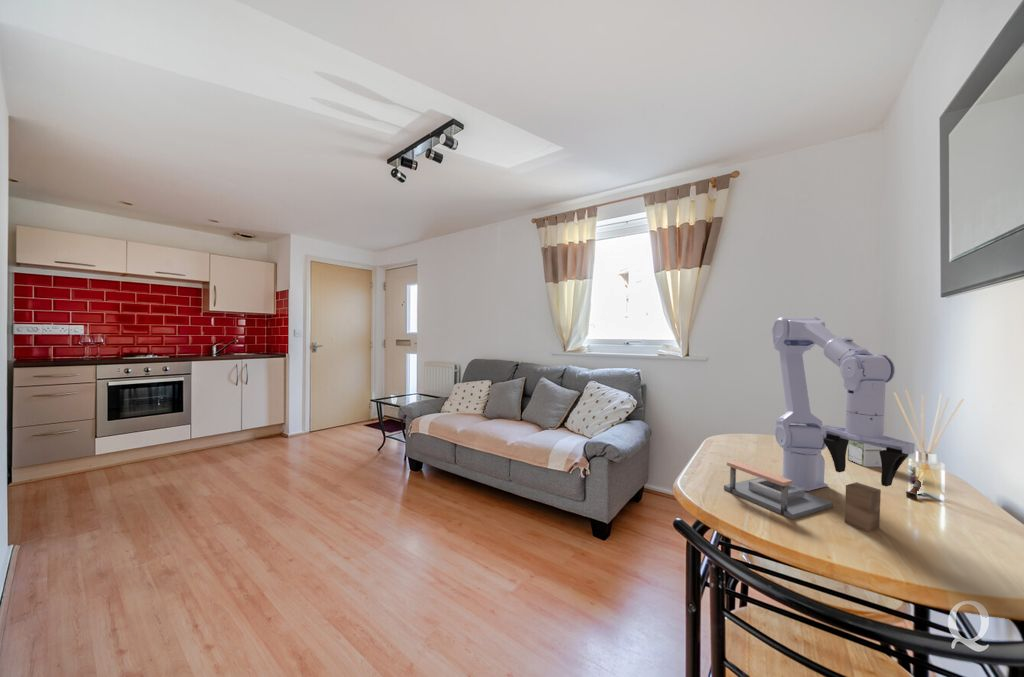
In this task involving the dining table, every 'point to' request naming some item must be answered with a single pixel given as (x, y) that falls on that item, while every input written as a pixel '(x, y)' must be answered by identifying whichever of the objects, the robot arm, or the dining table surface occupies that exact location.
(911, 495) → the brown figurine
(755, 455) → the dining table surface
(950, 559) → the dining table surface
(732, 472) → the socket board
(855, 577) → the dining table surface
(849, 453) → the syrup box
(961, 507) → the dining table surface
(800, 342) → the robot arm
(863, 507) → the walnut peg
